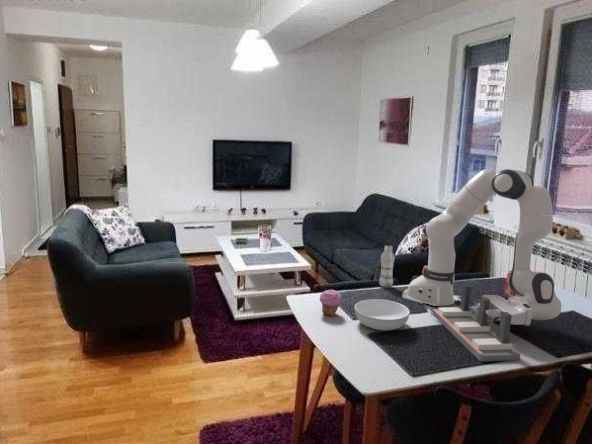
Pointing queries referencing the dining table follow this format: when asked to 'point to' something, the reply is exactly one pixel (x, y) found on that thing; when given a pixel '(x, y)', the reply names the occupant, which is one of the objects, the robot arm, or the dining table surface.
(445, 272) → the robot arm
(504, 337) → the post
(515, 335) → the dining table surface
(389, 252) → the plastic bottle
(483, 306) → the block
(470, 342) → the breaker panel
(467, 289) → the block
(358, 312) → the serving bowl
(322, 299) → the cupcake
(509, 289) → the soda can
